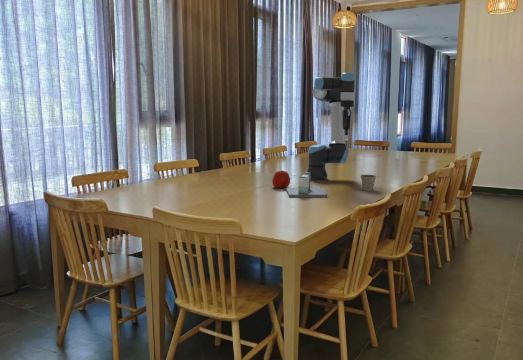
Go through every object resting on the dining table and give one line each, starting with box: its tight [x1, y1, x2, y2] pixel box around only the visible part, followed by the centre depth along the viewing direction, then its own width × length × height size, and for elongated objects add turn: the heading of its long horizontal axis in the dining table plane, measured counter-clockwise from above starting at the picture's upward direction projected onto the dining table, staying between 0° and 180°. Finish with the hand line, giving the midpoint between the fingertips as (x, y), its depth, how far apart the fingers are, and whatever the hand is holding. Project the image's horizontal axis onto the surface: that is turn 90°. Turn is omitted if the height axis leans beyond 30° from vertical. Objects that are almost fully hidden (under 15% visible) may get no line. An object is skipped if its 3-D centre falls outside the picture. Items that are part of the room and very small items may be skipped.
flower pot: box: [359, 174, 377, 192], centre depth 267 cm, size 9×9×9 cm
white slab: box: [298, 171, 311, 192], centre depth 257 cm, size 16×4×9 cm, turn 163°
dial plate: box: [285, 185, 328, 198], centre depth 256 cm, size 22×21×6 cm
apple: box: [272, 170, 291, 189], centre depth 274 cm, size 11×11×11 cm
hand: (345, 140), depth 265 cm, fingers closed
